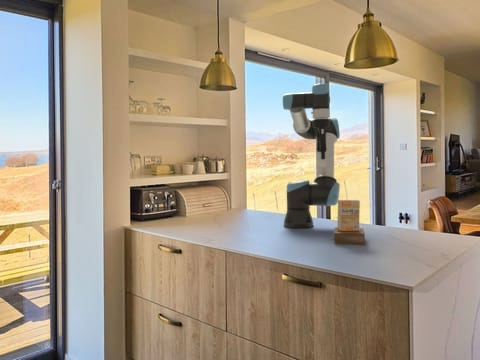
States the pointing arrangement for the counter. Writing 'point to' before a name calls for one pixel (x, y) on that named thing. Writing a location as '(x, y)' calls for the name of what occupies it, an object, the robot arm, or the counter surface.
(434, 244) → the counter surface
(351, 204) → the supplement box
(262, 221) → the counter surface
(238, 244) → the counter surface
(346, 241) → the block
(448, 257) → the counter surface
